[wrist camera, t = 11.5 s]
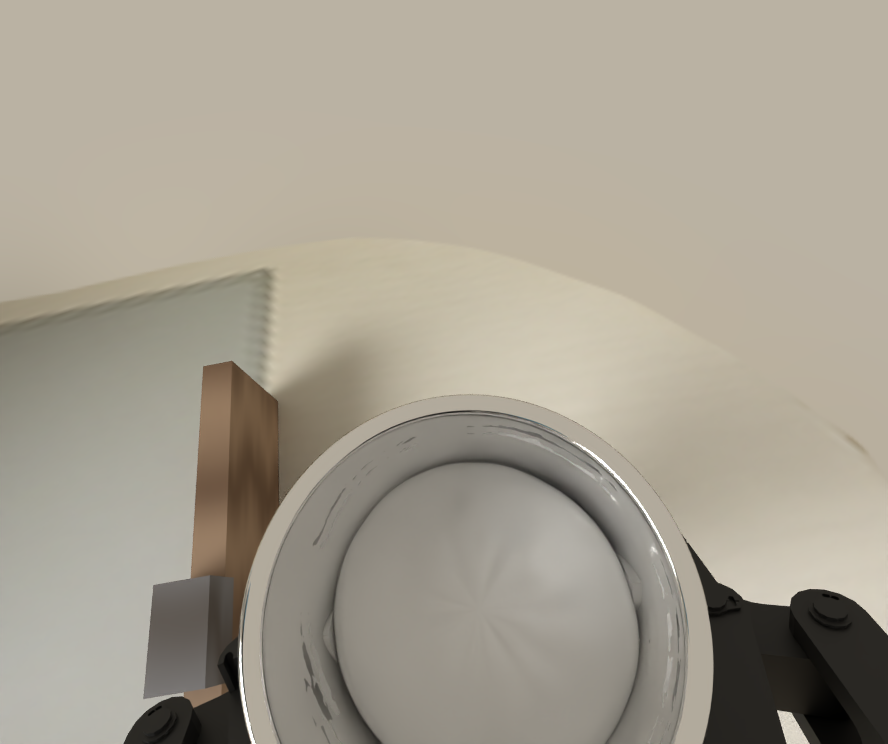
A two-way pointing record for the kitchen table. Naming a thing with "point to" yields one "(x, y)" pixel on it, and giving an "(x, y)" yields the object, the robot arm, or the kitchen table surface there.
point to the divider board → (217, 537)
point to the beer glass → (474, 591)
